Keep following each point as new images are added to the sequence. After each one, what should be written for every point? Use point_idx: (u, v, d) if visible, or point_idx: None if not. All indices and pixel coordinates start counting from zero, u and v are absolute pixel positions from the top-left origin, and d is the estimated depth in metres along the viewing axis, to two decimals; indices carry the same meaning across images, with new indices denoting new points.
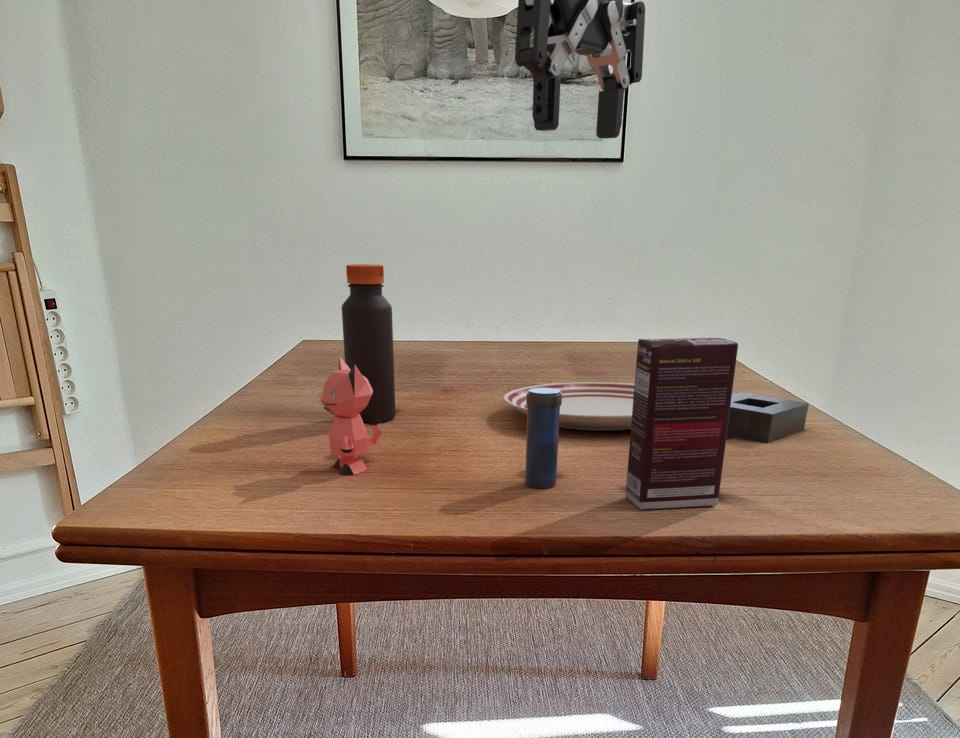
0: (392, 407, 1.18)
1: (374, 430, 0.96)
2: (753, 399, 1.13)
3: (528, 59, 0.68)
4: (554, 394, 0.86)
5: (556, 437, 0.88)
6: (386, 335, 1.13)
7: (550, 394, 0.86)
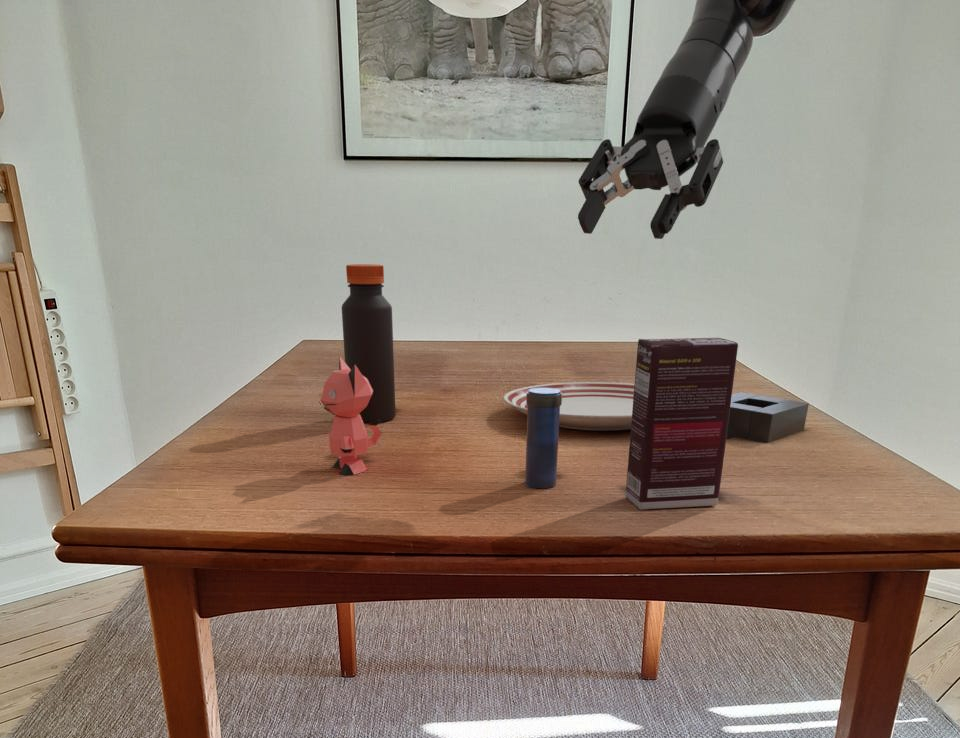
0: (392, 407, 1.18)
1: (374, 430, 0.96)
2: (753, 399, 1.13)
3: (582, 189, 0.91)
4: (554, 394, 0.86)
5: (556, 437, 0.88)
6: (386, 335, 1.13)
7: (550, 394, 0.86)
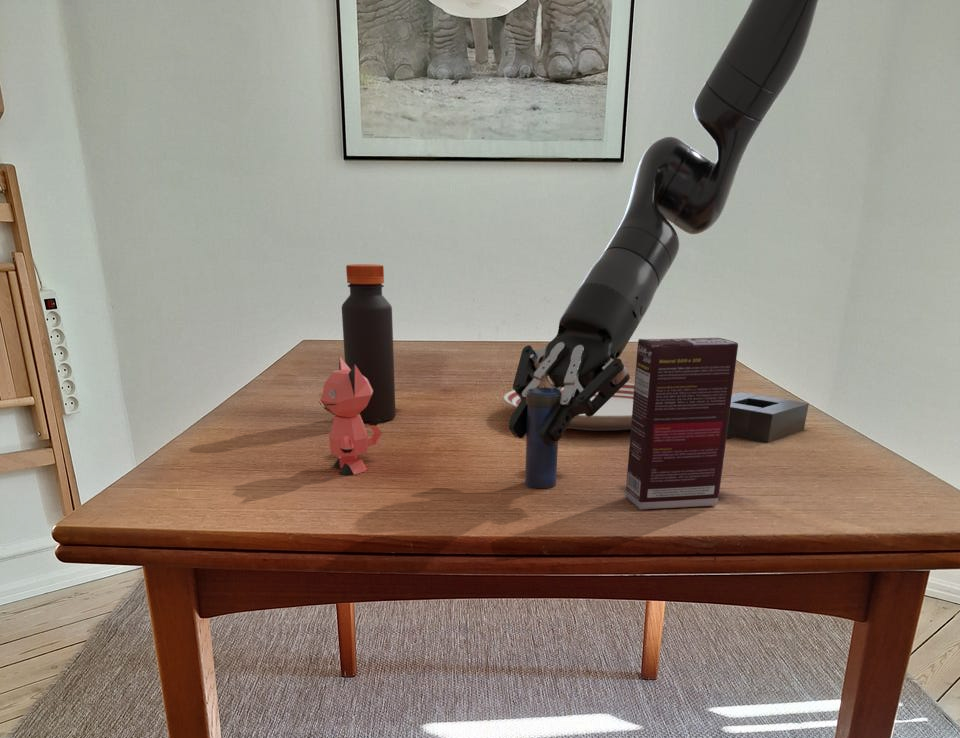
0: (392, 407, 1.18)
1: (374, 430, 0.96)
2: (753, 399, 1.13)
3: (517, 393, 0.91)
4: (554, 394, 0.86)
5: None
6: (386, 335, 1.13)
7: (550, 394, 0.86)
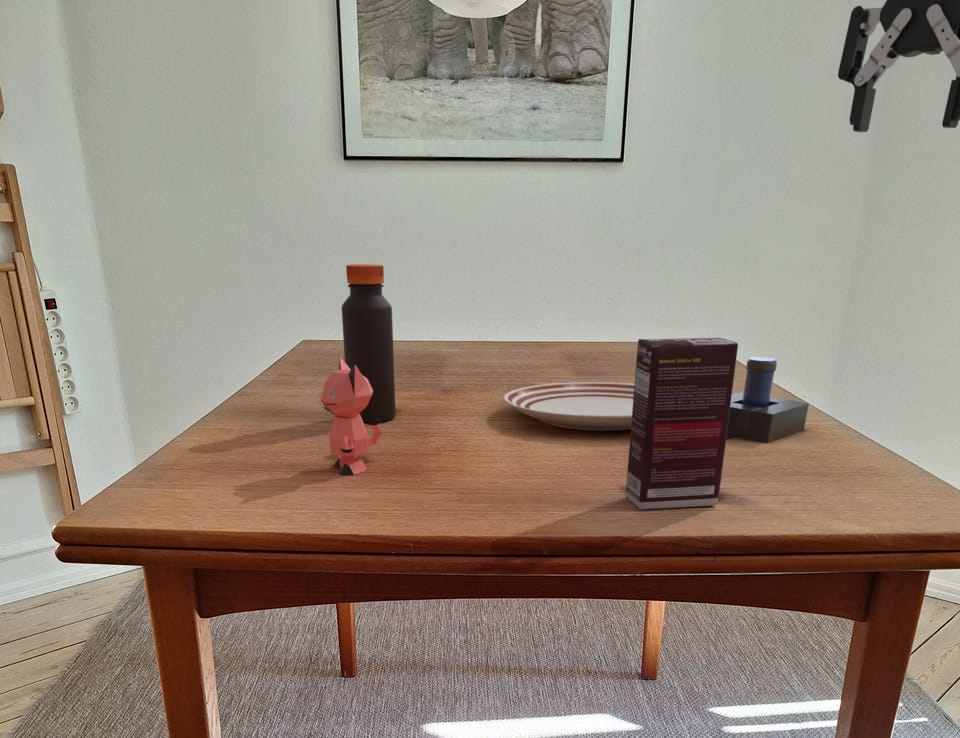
0: (392, 407, 1.18)
1: (374, 430, 0.96)
2: None
3: None
4: (772, 361, 1.07)
5: (769, 397, 1.09)
6: (386, 335, 1.13)
7: (770, 361, 1.06)
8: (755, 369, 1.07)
